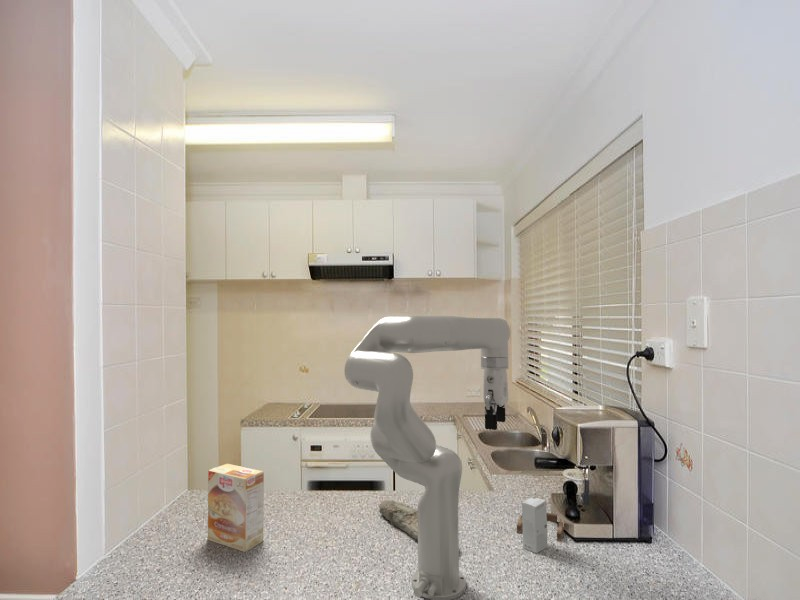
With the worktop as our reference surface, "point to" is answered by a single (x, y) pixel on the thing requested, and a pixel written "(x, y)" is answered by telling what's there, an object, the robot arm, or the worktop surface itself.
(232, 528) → the coffeecake box
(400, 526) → the long grey stone
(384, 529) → the worktop surface
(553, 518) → the lane rack
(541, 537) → the skincare box
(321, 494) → the worktop surface
